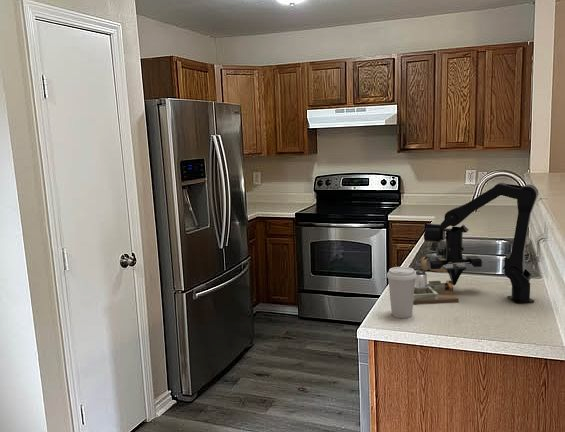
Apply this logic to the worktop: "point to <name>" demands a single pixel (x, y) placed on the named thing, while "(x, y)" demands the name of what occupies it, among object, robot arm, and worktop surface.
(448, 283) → the lock pin
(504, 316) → the worktop surface
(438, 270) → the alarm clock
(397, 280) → the coffee cup
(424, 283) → the grey cylinder
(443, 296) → the tray
